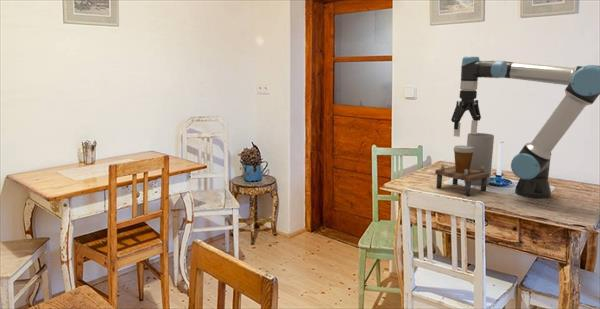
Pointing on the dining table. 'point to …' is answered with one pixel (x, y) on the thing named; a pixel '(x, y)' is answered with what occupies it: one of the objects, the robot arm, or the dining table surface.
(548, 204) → the dining table surface
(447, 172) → the peg shelf stand
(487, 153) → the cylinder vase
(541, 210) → the dining table surface
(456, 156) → the disposable coffee cup
